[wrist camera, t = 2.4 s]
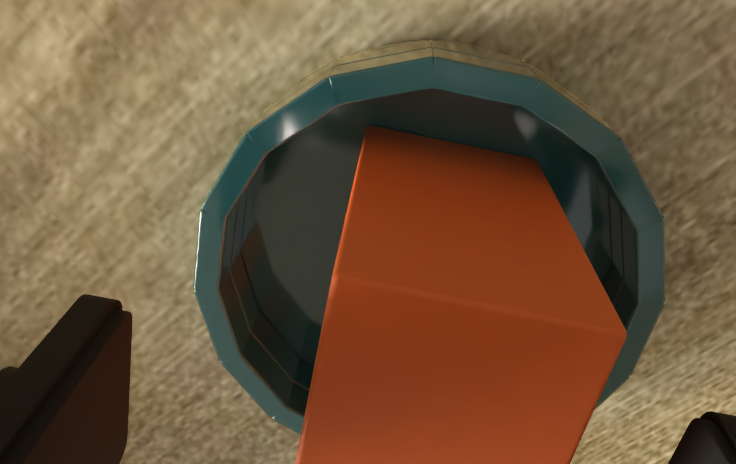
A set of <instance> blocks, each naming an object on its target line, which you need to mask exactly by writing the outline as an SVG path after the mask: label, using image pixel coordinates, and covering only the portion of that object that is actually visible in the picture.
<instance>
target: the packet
mask: <svg viewBox="0 0 736 464" xmlns="http://www.w3.org/2000/svg"><path fill="white" fill-rule="evenodd" d="M626 337H627V332H626V329H625V327H624V326H623V324H622V322H621V320H620V318H619V316H618V314H617V312H616V310H615V308H614V306H613V305H612V303H611V301H610V299H609V297H608V295H607V293H606V291H605V289H604V287H603V285H602V284H601V282H600V280H599V278H598V276H597V274H596V272H595V270H594V268H593V266H592V264H591V263H590V261H589V259H588V257H587V255H586V253H585V251H584V249H583V247H582V245H581V243H580V242H579V240H578V238H577V236H576V234H575V232H574V230H573V228H572V226H571V224H570V222H569V221H568V219H567V217H566V215H565V213H564V211H563V209H562V207H561V205H560V203H559V201H558V200H557V198H556V196H555V194H554V192H553V190H552V188H551V186H550V184H549V182H548V180H547V179H546V177H545V175H544V173H543V171H542V169H541V167H540V165H539V163H538V161H536V160H535V159H531V158H526V157H521V156H516V155H511V154H507V153H502V152H497V151H492V150H487V149H483V148H478V147H473V146H468V145H463V144H458V143H454V142H449V141H444V140H439V139H434V138H430V137H425V136H420V135H415V134H410V133H406V132H401V131H396V130H391V129H386V128H381V127H377V126H372V125H370V126H367V128H366V130H365V134H364V139H363V143H362V147H361V152H360V156H359V160H358V165H357V169H356V173H355V178H354V182H353V187H352V191H351V195H350V200H349V204H348V208H347V213H346V217H345V221H344V226H343V230H342V234H341V239H340V243H339V248H338V252H337V256H336V261H335V265H334V269H333V274H332V278H331V283H330V288H329V294H328V299H327V304H326V309H325V314H324V319H323V324H322V329H321V334H320V340H319V345H318V350H317V355H316V360H315V365H314V370H313V375H312V380H311V386H310V391H309V396H308V401H307V406H306V411H305V416H304V421H303V426H302V431H301V437H300V442H299V447H298V452H297V457H296V462H295V464H570V462H571V460H572V458H573V455H574V453H575V451H576V449H577V446H578V444H579V442H580V440H581V438H582V435H583V433H584V431H585V429H586V426H587V424H588V422H589V420H590V418H591V415H592V413H593V411H594V409H595V406H596V404H597V402H598V400H599V398H600V395H601V393H602V391H603V389H604V386H605V384H606V382H607V380H608V378H609V375H610V373H611V371H612V369H613V366H614V364H615V362H616V360H617V358H618V355H619V353H620V351H621V349H622V347H623V344H624V342H625V340H626Z"/></svg>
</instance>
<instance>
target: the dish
mask: <svg viewBox="0 0 736 464" xmlns="http://www.w3.org/2000/svg"><path fill="white" fill-rule="evenodd" d="M370 125H372V126H377V127H381V128H386V129H391V130H396V131H401V132H406V133H410V134H415V135H420V136H425V137H430V138H434V139H439V140H444V141H449V142H454V143H458V144H463V145H468V146H473V147H478V148H483V149H487V150H492V151H497V152H502V153H507V154H511V155H516V156H521V157H526V158H531V159H535V160H536V161H538V163H539V165H540V167H541V169H542V171H543V173H544V175H545V177H546V179H547V180H548V182H549V184H550V186H551V188H552V190H553V192H554V194H555V196H556V198H557V200H558V201H559V203H560V205H561V207H562V209H563V211H564V213H565V215H566V217H567V219H568V221H569V222H570V224H571V226H572V228H573V230H574V232H575V234H576V236H577V238H578V240H579V242H580V243H581V245H582V247H583V249H584V251H585V253H586V255H587V257H588V259H589V261H590V263H591V264H592V266H593V268H594V270H595V272H596V274H597V276H598V278H599V280H600V282H601V284H602V285H603V287H604V289H605V291H606V293H607V295H608V297H609V299H610V301H611V303H612V305H613V306H614V308H615V310H616V312H617V314H618V316H619V318H620V320H621V322H622V324H623V326H624V327H625V329H626V332H627V337H626V340H625V342H624V344H623V347H622V349H621V351H620V353H619V355H618V358H617V360H616V362H615V364H614V366H613V369H612V371H611V373H610V375H609V378H608V380H607V382H606V384H605V386H604V389H603V391H602V393H601V395H600V398H599V400H598V402H597V404H596V406H595V409H596V408H597V407H598V406H599V405H600V404H601V403H603V402H604V401H605V400H606V399H607V398H608V397H609V396H610V395H611V394H612V393H614V392H615V391H616V390H617V389H618V388H619V387H620V386H621V385H622V384H623V383H624V382H626V381H627V380H628V379H629V376H630V375H632V373H633V370H634V368H635V366H636V364H637V362H638V360H639V358H640V356H641V353H642V351H643V349H644V347H645V345H646V343H647V341H648V338H649V336H650V334H651V332H652V330H653V328H654V326H655V324H656V321H657V319H658V317H659V315H660V313H661V311H662V309H663V306H664V302H665V246H664V220H663V219H664V216H663V215H662V213H661V211H660V209H659V207H658V205H657V203H656V201H655V199H654V198H653V196H652V194H651V192H650V190H649V188H648V186H647V184H646V182H645V181H644V179H643V177H642V175H641V173H640V171H639V169H638V167H637V166H636V164H635V162H634V160H633V158H632V156H631V154H630V152H629V150H628V149H627V147H626V145H625V143H624V141H623V139H622V138H621V137H620V136H619V135H618V134H617V133H616V132H615V131H614V130H613V129H612V128H611V127H610V126H609V125H608V124H607V123H606V122H605V121H604V120H603V119H602V118H601V117H600V116H599V115H598V113H597V112H596V111H595V110H593V109H592V108H591V107H589V106H588V105H587V104H585V103H584V102H582V101H581V100H580V99H578V98H577V97H576V96H574V95H573V94H571V93H570V92H569V91H568V90H567V89H565V88H564V87H563V86H562V85H561V84H560V83H558V82H557V81H556V80H554V79H553V78H551V77H549V76H548V75H546V74H545V73H543V72H541V71H540V70H538V69H537V68H536V67H534V66H533V65H532V64H530V63H529V62H527V61H523V60H522V59H521V58H517V57H512V56H509V55H507V54H505V53H502V52H498V51H494V50H491V49H487V48H484V47H480V46H477V45H471V44H464V43H457V42H450V41H437V40H432V41H430V40H424V41H408V42H401V43H393V44H385V45H381V46H378V47H374V48H370V49H366V50H363V51H359V52H356V53H353V54H351V55H348V56H343V57H340V58H339V59H335V60H334V61H332V62H331V63H329V64H328V65H326V66H324V67H322V68H321V69H319V70H317V71H316V72H314V73H312V74H311V75H309V76H307V77H306V78H304V79H303V80H301V81H300V82H299V83H298V84H296V85H295V86H294V87H293V88H291V89H290V90H289V91H288V92H286V93H285V94H284V95H283V96H281V97H280V98H278V99H277V100H276V101H274V102H273V103H271V104H270V105H268V106H267V107H266V108H265V110H263V112H262V113H261V114H260V115H259V117H258V118H257V119H256V120H255V122H254V123H253V124H252V125H251V127H250V128H249V129H248V130H247V132H246V133H245V134H244V136H243V137H242V139H241V141H240V142H239V144H238V146H237V147H236V149H235V151H234V152H233V154H232V156H231V157H230V159H229V161H228V162H227V164H226V166H225V167H224V169H223V171H222V172H221V174H220V176H219V177H218V179H217V181H216V182H215V184H214V186H213V187H212V189H211V191H210V192H209V194H208V196H207V197H206V199H205V201H204V202H203V204H202V209H201V210H200V216H199V228H198V239H197V251H196V262H195V274H194V285H193V286H194V293H195V295H196V298H197V301H198V304H199V306H200V309H201V312H202V315H203V318H204V320H205V323H206V326H207V329H208V331H209V334H210V337H211V340H212V342H213V345H214V348H215V351H216V353H217V356H218V359H219V361H221V364H222V365H223V366H224V367H225V369H226V370H227V371H228V372H229V373H230V374H231V375H232V376H233V377H234V378H235V380H236V381H237V382H238V383H239V384H240V385H241V386H242V387H243V388H244V389H245V391H246V392H247V393H248V394H249V395H250V396H251V397H252V398H253V399H254V400H255V402H256V403H257V404H258V405H259V406H260V407H261V408H262V409H263V410H264V412H265V413H266V414H267V415H268V416H269V417H270V418H272V419H273V420H274V421H276V422H278V423H279V424H281V425H283V426H285V427H287V428H289V429H291V430H292V431H294V432H296V433H298V434H300V435H301V431H302V426H303V421H304V416H305V411H306V406H307V401H308V396H309V391H310V386H311V380H312V375H313V370H314V365H315V360H316V355H317V350H318V345H319V340H320V334H321V329H322V324H323V319H324V314H325V309H326V304H327V299H328V294H329V288H330V283H331V278H332V274H333V269H334V265H335V261H336V256H337V252H338V248H339V243H340V239H341V234H342V230H343V226H344V221H345V217H346V213H347V208H348V204H349V200H350V195H351V191H352V187H353V182H354V178H355V173H356V169H357V165H358V160H359V156H360V152H361V147H362V143H363V139H364V134H365V130H366V128H367V126H370ZM595 409H594V410H595Z"/></svg>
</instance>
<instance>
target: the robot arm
mask: <svg viewBox="0 0 736 464" xmlns="http://www.w3.org/2000/svg"><path fill="white" fill-rule="evenodd" d="M131 340H132V314H131V312H128V311H123V310H122V304H121V302H120V301H119V300H113V299H108V298H103V297H97V296H92V295H87V294H84V295H82V296H80V297H79V298H78V299H77V301H76V302H75V303H74V304H73V305H72V306H71V308H70V309H69V310H68V311H67V312H66V313H65V314H64V316H63V317H62V318H61V319H60V320H59V321H58V323H57V324H56V325H55V326H54V327H53V328H52V330H51V331H50V332H49V333H48V334H47V335H46V337H45V338H44V339H43V340H42V341H41V342H40V343H39V345H38V346H37V347H36V348H35V349H34V350H33V352H32V353H31V354H30V355H29V356H28V357H27V359H26V360H25V361H24V362H23V363H22V364H21V366H20V367H19V368H15V367H6V368H4V369H2V370H1V371H0V464H119V463H120V461H121V459H122V456H123V453H124V450H125V447H126V442H127V435H128V411H129V388H130V364H131ZM668 464H736V416H732V415H727V414H722V413H716V412H706V413H705V414H703V415H702V416H701V417H700V418H695V419H694V420H692V421H691V423H690V424H689V426H688V428H687V429H686V431H685V433H684V435H683V437H682V439H681V441H680V443H679V444H678V446H677V448H676V450H675V452H674V454H673V456H672V458H671V459H670V461H669V463H668Z"/></svg>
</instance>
